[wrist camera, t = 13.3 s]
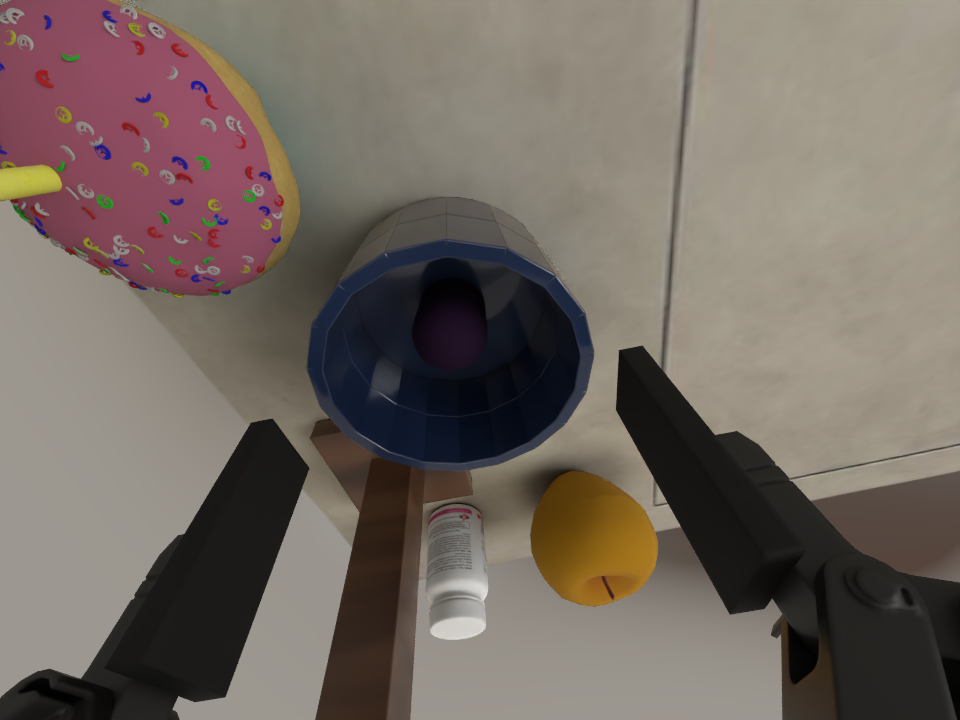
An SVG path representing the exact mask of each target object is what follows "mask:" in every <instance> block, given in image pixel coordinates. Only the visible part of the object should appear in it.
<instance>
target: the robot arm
mask: <svg viewBox="0 0 960 720" xmlns="http://www.w3.org/2000/svg"><path fill="white" fill-rule="evenodd" d="M616 411H617V413H618V414H619V416H620V418H621V420H622V422H623V423H624V425H625V427H626V429H627V431H628V432H629V434H630V436H631V438H632V439H633V441H634V443H635V445H636V447H637V448H638V450H639V452H640V454H641V456H642V457H643V459H644V461H645V463H646V465H647V466H648V468H649V470H650V472H651V474H652V475H653V477H654V479H655V481H656V483H657V484H658V486H659V488H660V490H661V492H662V493H663V495H664V497H665V499H666V501H667V502H668V504H669V506H670V508H671V510H672V511H673V513H674V515H675V517H676V519H677V520H678V522H679V524H680V526H681V528H682V529H683V531H684V533H685V535H686V536H687V538H688V540H689V541H690V544H691V545H692V547H693V549H694V551H695V553H696V554H697V556H698V558H699V560H700V562H701V563H702V565H703V567H704V569H705V571H706V572H707V574H708V576H709V578H710V580H711V581H712V583H713V585H714V587H715V588H716V590H717V592H718V594H719V596H720V598H721V599H722V601H723V603H724V605H725V607H726V608H727V610H728V612H729V614H736V613H742V612H749V611H754V610H761V609H765V607H766V606H767V605H768V603H769V602H770V601H771V599H772V598H773V600H774V601H775V603H776V604H777V606H778V607H779V609H780V611H781V612H782V616H781V617H780V618H779V619H778V620H777V622H776V623H775V624H774V625H773V629H772V633H771V636H773V637H775V638H778V637H779V635H780V634H781V648H782V716H783V717H782V718H783V720H960V583H959V582H952V581H946V580H939V579H933V578H926V577H920V576H914V575H909V574H905V573H901V572H897V571H896V570H894V569H893V568H892V567H890V566H889V565H887V564H886V563H883V562H881V561H879V560H877V559H875V558H873V557H870V556H868V555H865V554H862V553H861V552H859V551H858V550H857V549H855V548H854V547H853V546H852V545H851V544H850V543H849V542H848V541H847V540H846V539H844V538H843V536H842V535H841V534H840V533H839V532H838V531H837V530H836V529H835V528H834V526H833V525H832V524H831V523H830V522H829V521H828V520H827V519H826V518H825V517H824V516H823V515H822V513H821V512H820V511H819V510H818V509H817V508H816V507H815V506H814V505H813V504H812V503H811V501H810V500H809V499H808V498H807V497H806V496H805V495H804V494H803V493H802V492H801V490H800V489H799V488H798V487H797V486H796V485H795V484H794V483H793V482H792V481H789V477H788V476H787V475H786V474H785V473H784V472H783V471H782V470H781V469H780V467H779V466H776V465H775V462H774V461H773V460H772V459H771V458H770V457H769V455H768V454H767V453H766V452H765V451H764V450H763V449H762V448H761V447H760V446H759V445H758V444H757V443H755V442H753V441H752V440H750V439H749V438H747V437H745V436H744V435H742V434H741V433H739V432H737V431H735V432H730V433H724V434H719V435H714V433H713V432H712V431H711V430H710V428H709V427H708V426H707V425H706V424H705V422H704V421H703V420H702V419H701V417H700V416H699V415H698V414H697V412H696V411H695V410H694V409H693V407H692V406H691V405H690V404H689V403H688V401H687V400H686V399H685V398H684V396H683V395H682V394H681V393H680V391H679V390H678V389H677V388H676V387H675V385H674V384H673V383H672V382H671V380H670V379H669V378H668V377H667V375H666V374H665V373H664V372H663V370H662V369H661V368H660V367H659V366H658V364H657V363H656V362H655V361H654V359H653V358H652V357H651V356H650V354H649V353H648V352H647V351H646V350H645V348H644V347H643V346H638V347H633V348H628V349H623V350H619V362H618V381H617V400H616ZM308 471H309V467H308V466H307V464H306V463H305V462H304V460H303V459H302V457H301V456H300V455H299V453H298V452H297V451H296V449H295V448H294V447H293V445H292V444H291V443H290V441H289V440H288V439H287V437H286V436H285V435H284V433H283V432H282V431H281V429H280V428H279V427H278V425H277V424H276V423H275V421H274V420H273V419H268V420H262V421H257V422H252V423H251V424H250V426H249V427H248V429H247V431H246V432H245V434H244V436H243V437H242V439H241V441H240V442H239V444H238V446H237V447H236V449H235V451H234V452H233V454H232V456H231V457H230V459H229V461H228V462H227V464H226V466H225V467H224V469H223V471H222V472H221V474H220V476H219V477H218V479H217V481H216V482H215V484H214V486H213V487H212V489H211V491H210V492H209V494H208V496H207V497H206V499H205V501H204V502H203V504H202V506H201V507H200V509H199V511H198V512H197V514H196V516H195V517H194V519H193V521H192V522H191V524H190V526H189V527H188V529H187V531H186V532H185V534H183V535H178V536H177V537H176V538H175V539H174V540H173V541H172V542H171V544H169V546H167V548H166V549H165V550H164V551H163V552H162V553H161V554H160V555H159V557H158V558H157V560H156V561H155V563H154V564H153V566H152V568H151V569H150V571H149V573H148V574H147V576H146V580H145V581H143V582H142V584H141V585H140V587H139V588H138V590H137V592H136V593H135V598H134V599H133V600H131V601H130V603H129V605H128V606H127V608H126V609H125V611H124V612H123V614H122V616H121V617H120V619H119V621H118V622H117V624H116V625H115V627H114V628H113V630H112V632H111V633H110V635H109V636H108V638H107V639H106V641H105V643H104V644H103V646H102V648H101V649H100V651H99V652H98V654H97V655H96V657H95V659H94V660H93V662H92V663H91V665H90V667H89V668H88V670H87V671H86V672H85V674H84V675H83V677H82V678H81V679H79V678H76V677H73V676H70V675H67V674H64V673H61V672H58V671H55V670H52V669H47V670H42V671H38V672H36V673H34V674H32V675H30V676H29V677H27V678H25V679H23V680H22V681H20V682H19V683H18V684H16V685H15V686H14V687H13V688H11V689H10V690H9V691H8V692H6V693H5V694H4V695H3V696H2V697H1V698H0V720H179V717H178V714H177V712H176V711H174V710H172V709H173V707H174V704H175V702H176V700H177V698H178V696H180V697H182V698H185V699H188V700H190V701H193V702H199V701H205V700H211V699H217V698H223V697H226V694H227V691H228V689H229V686H230V683H231V680H232V678H233V675H234V672H235V669H236V667H237V664H238V661H239V658H240V656H241V653H242V650H243V647H244V645H245V642H246V639H247V637H248V634H249V631H250V629H251V626H252V623H253V620H254V618H255V615H256V612H257V610H258V607H259V604H260V601H261V599H262V596H263V593H264V590H265V588H266V585H267V582H268V579H269V577H270V574H271V571H272V569H273V566H274V563H275V560H276V558H277V555H278V552H279V549H280V546H281V544H282V541H283V538H284V536H285V533H286V530H287V527H288V525H289V522H290V519H291V517H292V514H293V511H294V508H295V506H296V503H297V500H298V498H299V495H300V492H301V490H302V487H303V484H304V481H305V479H306V476H307V473H308Z"/></svg>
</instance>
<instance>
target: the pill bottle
mask: <svg viewBox="0 0 960 720" xmlns="http://www.w3.org/2000/svg"><path fill="white" fill-rule="evenodd" d="M487 579H488V578H487V566H486V555H485V542H484V531H483V520H482V516H481V514H480V512H479V511H478V510H476V509H475V508H473V507H471V506H468V505H464V504H451V505H447V506H444V507H441V508H439V509H438V510H436V511H435V512H433V514H432V515H431V516H430V519H429V526H428V551H427V575H426V597H427V600H428V602H429V603H430V604H431V607H430V614H429V615H430V632H431V634H432V635H433V636H435V637H437V638H441V639H449V640H457V639H465V638H470V637H473V636H476V635H478V634H480V633H481V632H482V631H484V629H485V627H486V617H485V607H484V606H485V605H484V602H483V600H484V599H485V598H486V596H487V593H488V580H487Z"/></svg>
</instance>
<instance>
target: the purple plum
mask: <svg viewBox="0 0 960 720" xmlns="http://www.w3.org/2000/svg"><path fill="white" fill-rule="evenodd" d="M412 338H413V343H414V346H415V348H416V350H417V352H418V354H419V355H420V356H421V358H422V359H423V360H424V361H425V362H427V363H428V364H429V365H431V366H433V367H435V368H438V369H441V370H447V371H452V370H459V369H463V368H465V367H467V366H469V365H471V364H472V363H473V362H475V361H476V360H477V359H478V357H479V356H480V355H481V353H482V352H483V350H484V348H485V345H486V341H487V320H486V307H485V302H484V299H483V297H482V295H481V293H480V292H479V291H478V289H477V288H476V287H474V286H473V285H472V284H470V283H469V282H467V281H464V280H461V279H457V278H446V279H442V280H439V281H437V282H435V283H433V284H431V285H430V286H429V287H428V288H427V289H426V290H425V292H424V293H423V295H422V297H421V300H420V303H419V306H418V310H417V313H416V316H415V319H414V323H413V328H412Z"/></svg>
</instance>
